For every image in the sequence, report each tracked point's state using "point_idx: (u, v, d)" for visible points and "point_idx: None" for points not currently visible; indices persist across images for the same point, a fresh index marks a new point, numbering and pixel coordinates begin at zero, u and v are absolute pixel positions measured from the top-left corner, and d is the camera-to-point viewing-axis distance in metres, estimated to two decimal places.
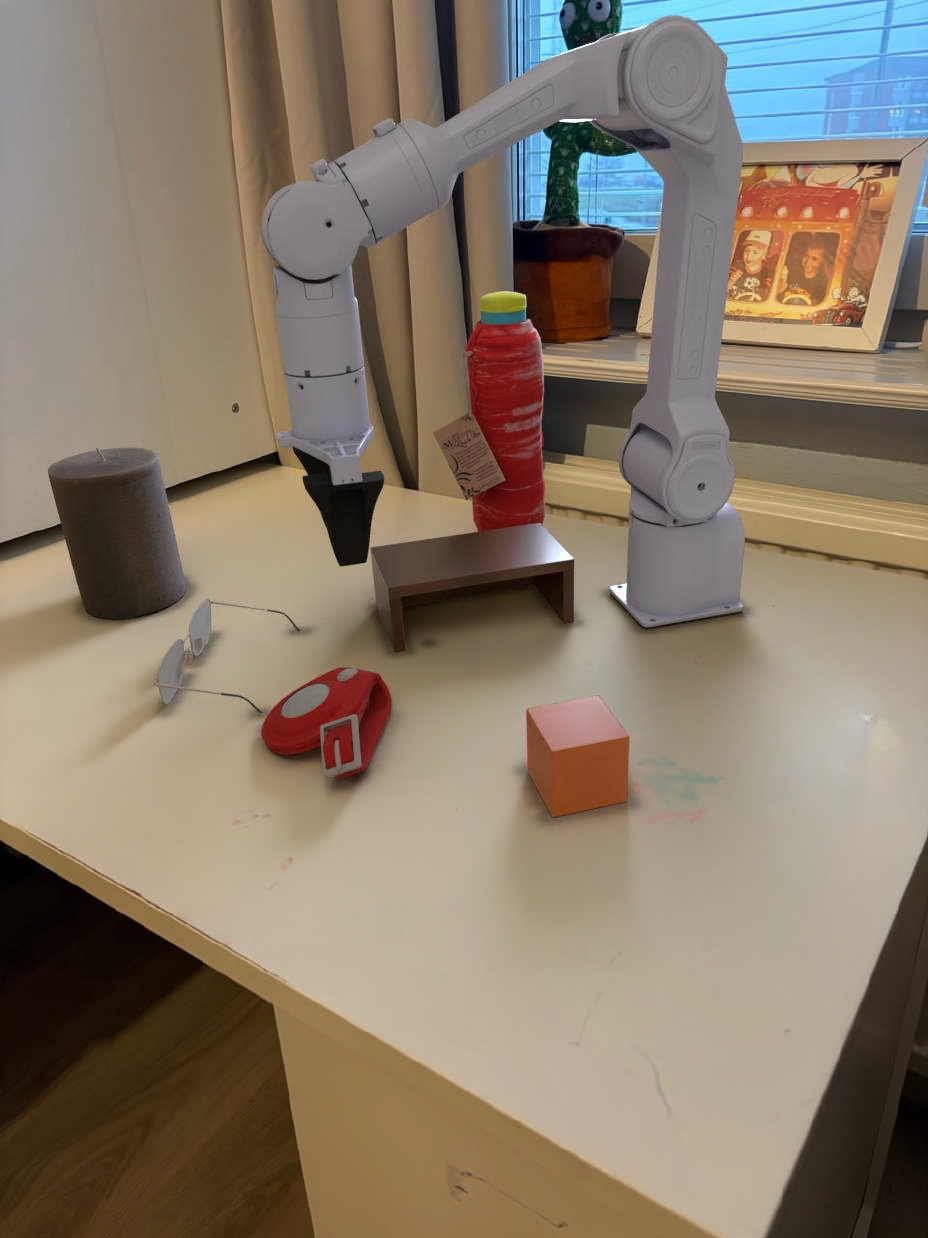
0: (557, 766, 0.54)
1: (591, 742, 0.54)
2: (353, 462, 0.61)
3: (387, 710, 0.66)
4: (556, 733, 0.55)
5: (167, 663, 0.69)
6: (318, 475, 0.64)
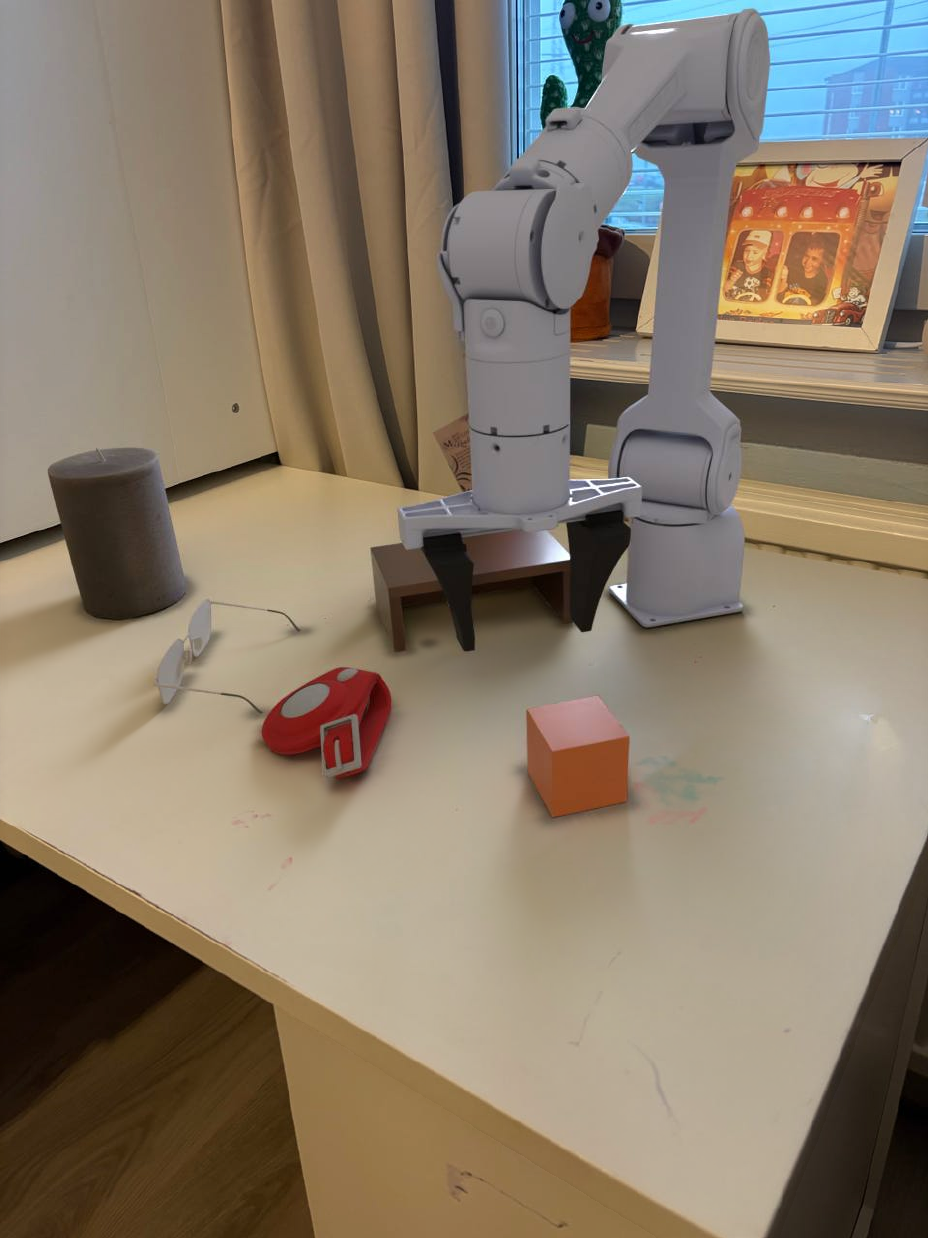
0: (557, 766, 0.54)
1: (591, 742, 0.54)
2: None
3: (387, 710, 0.66)
4: (556, 733, 0.55)
5: (166, 663, 0.69)
6: (596, 530, 0.53)
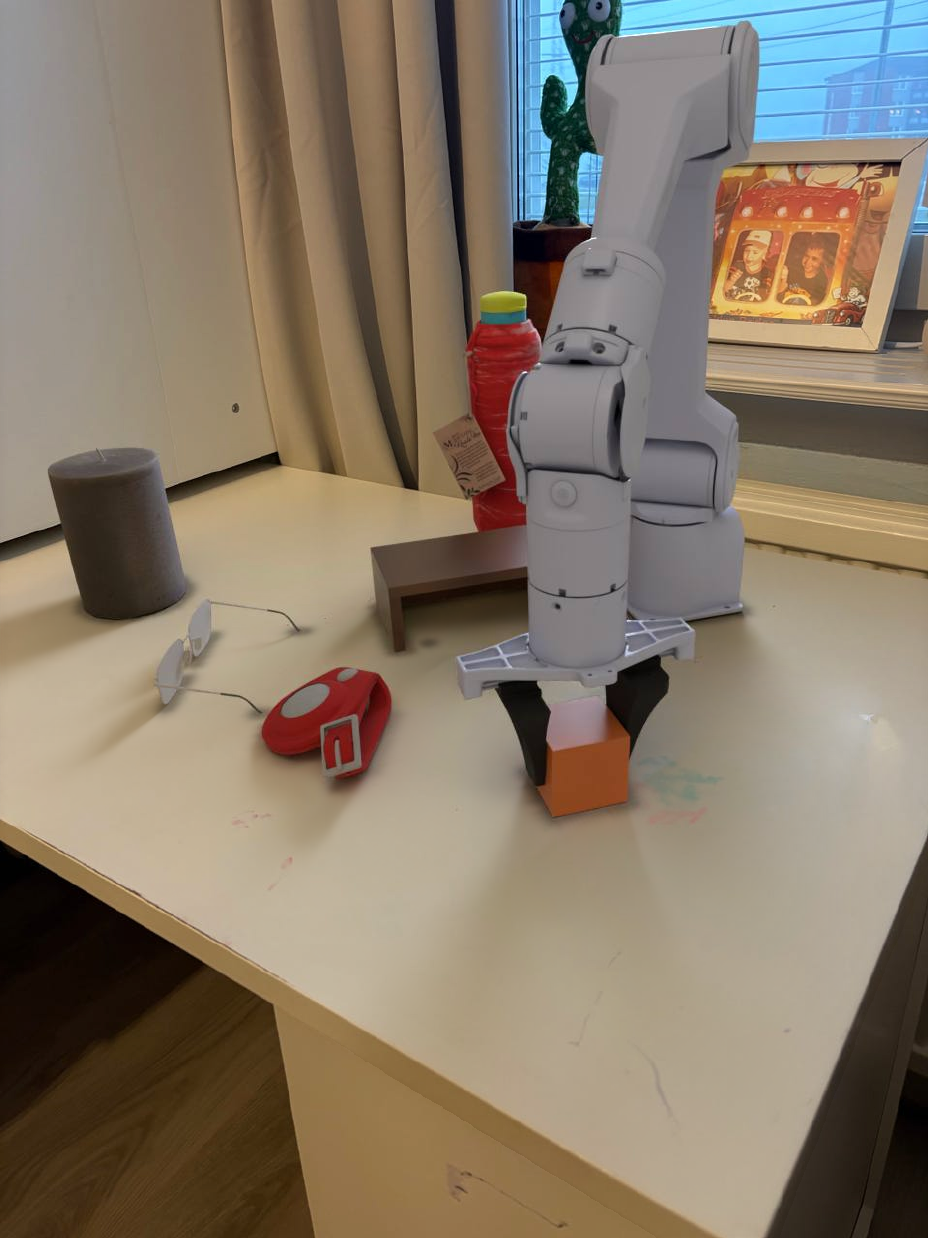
0: (558, 766, 0.54)
1: (591, 742, 0.54)
2: None
3: (387, 710, 0.66)
4: (557, 733, 0.55)
5: (166, 663, 0.69)
6: (635, 678, 0.54)
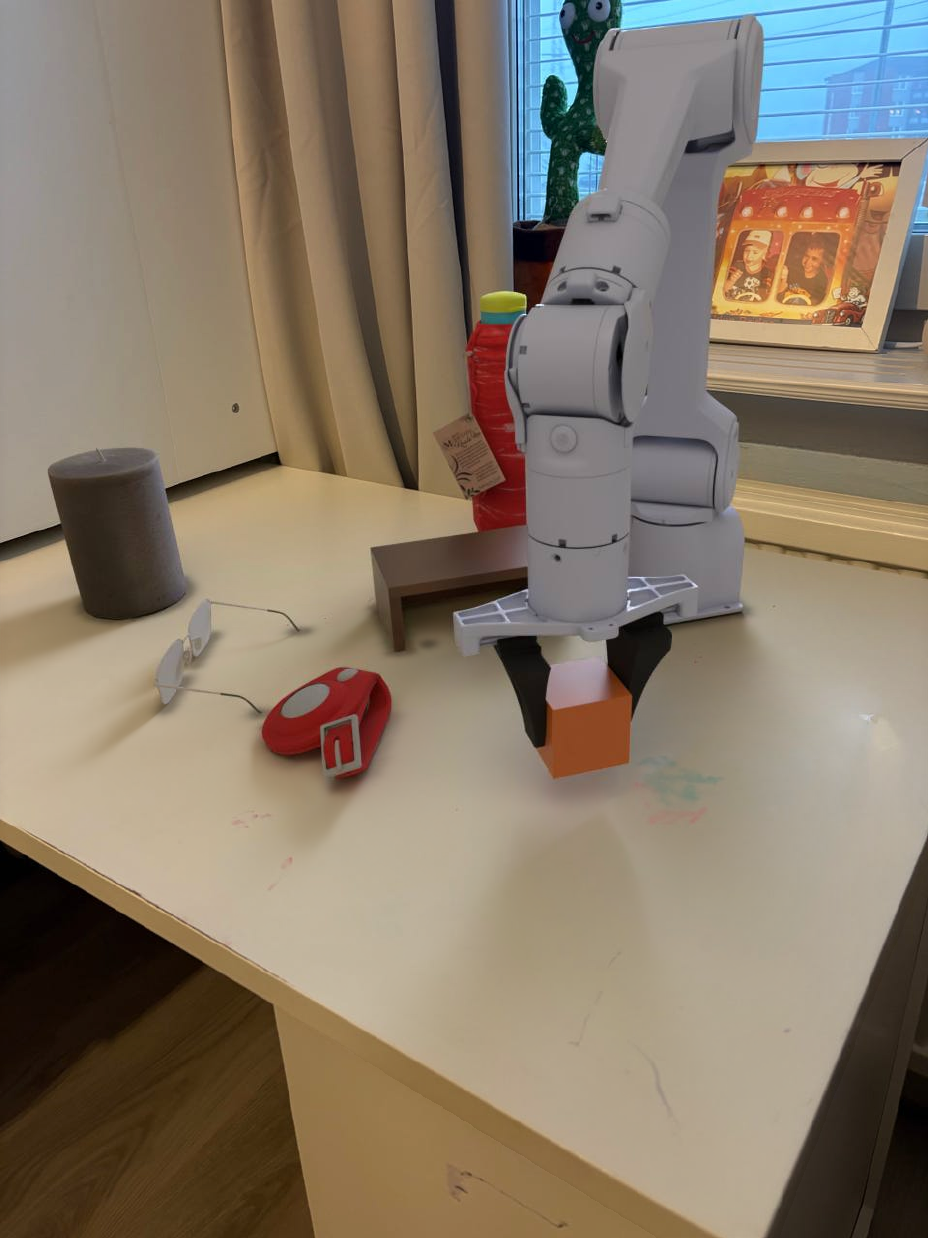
0: (558, 725, 0.53)
1: (592, 701, 0.53)
2: None
3: (387, 710, 0.66)
4: (557, 693, 0.54)
5: (166, 663, 0.69)
6: (637, 635, 0.53)
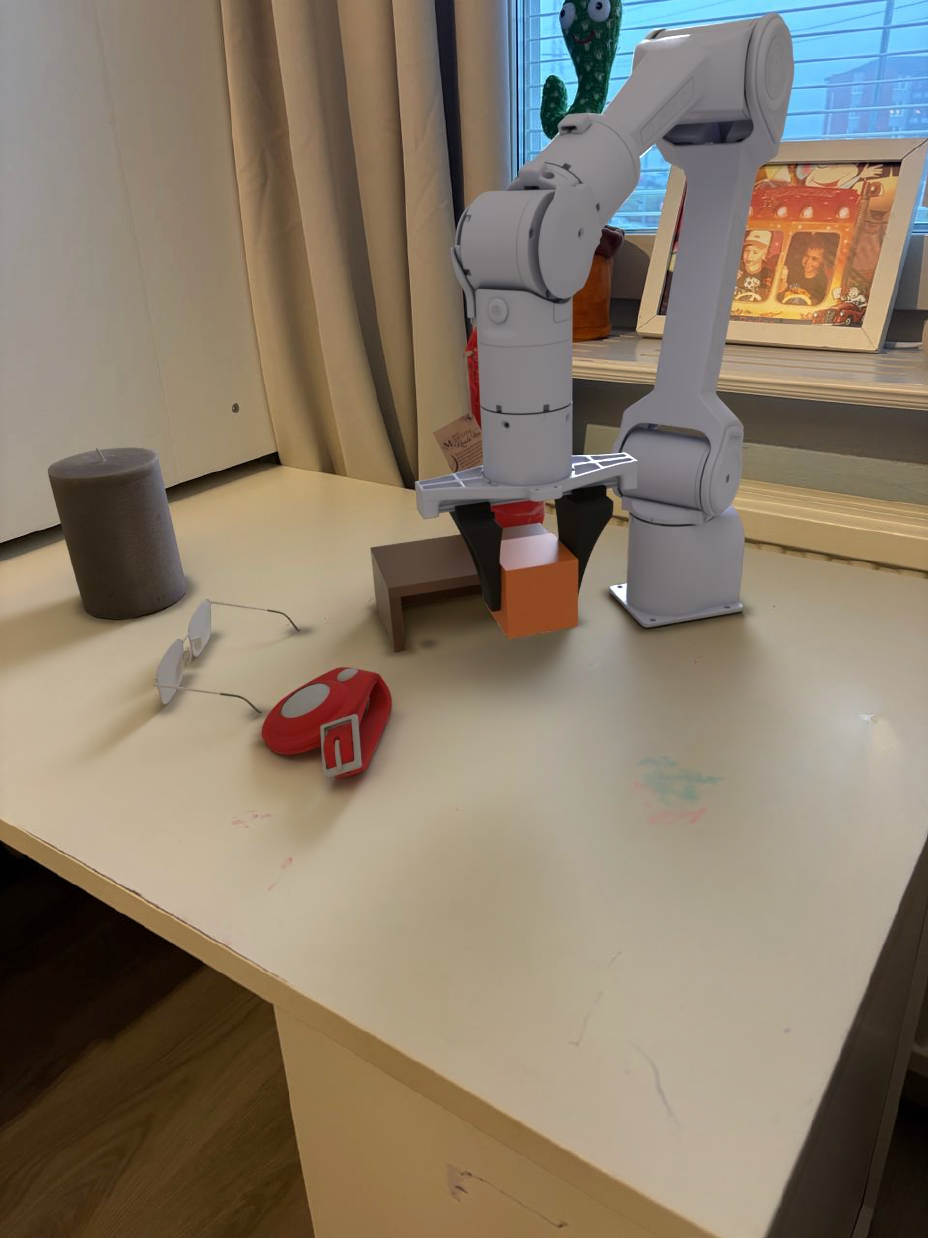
0: (511, 586, 0.59)
1: (542, 564, 0.59)
2: None
3: (387, 710, 0.66)
4: (511, 559, 0.60)
5: (166, 663, 0.69)
6: (581, 503, 0.58)
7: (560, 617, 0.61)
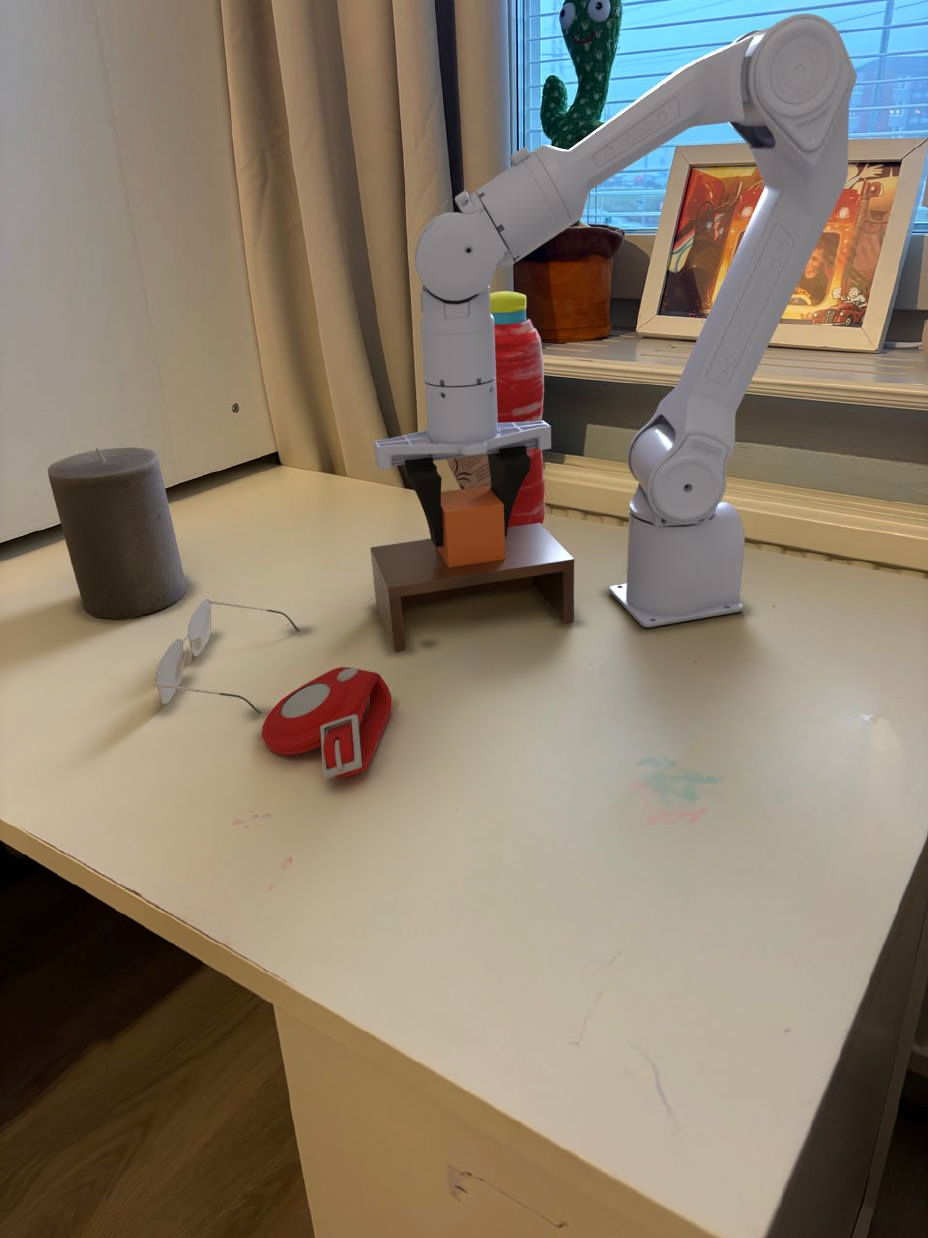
0: (449, 524, 0.74)
1: (474, 507, 0.74)
2: None
3: (387, 710, 0.66)
4: (450, 503, 0.75)
5: (166, 663, 0.69)
6: (505, 459, 0.74)
7: (490, 551, 0.76)
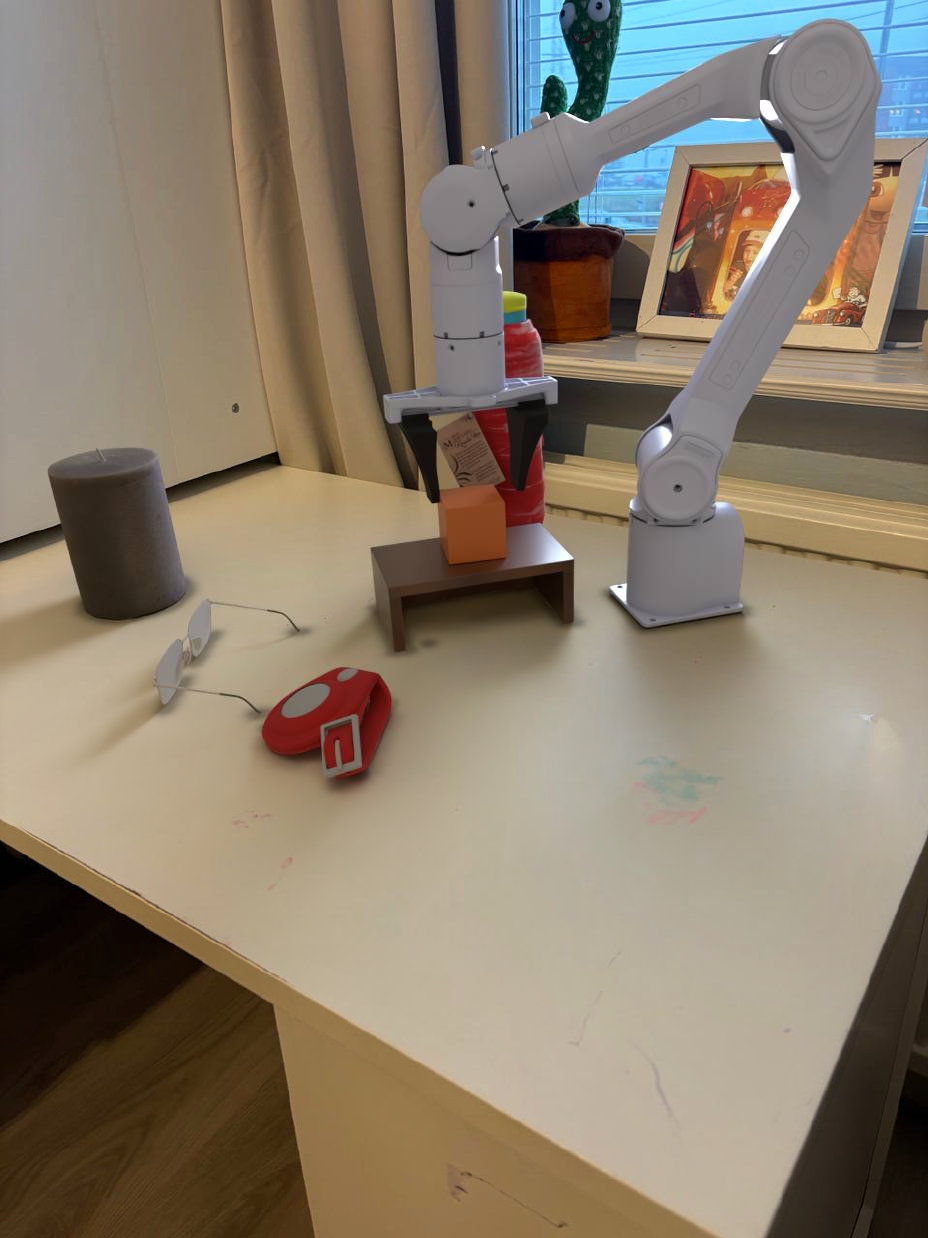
0: (450, 521, 0.75)
1: (475, 505, 0.74)
2: None
3: (387, 710, 0.66)
4: (452, 501, 0.76)
5: (165, 663, 0.69)
6: (525, 411, 0.75)
7: (491, 549, 0.76)
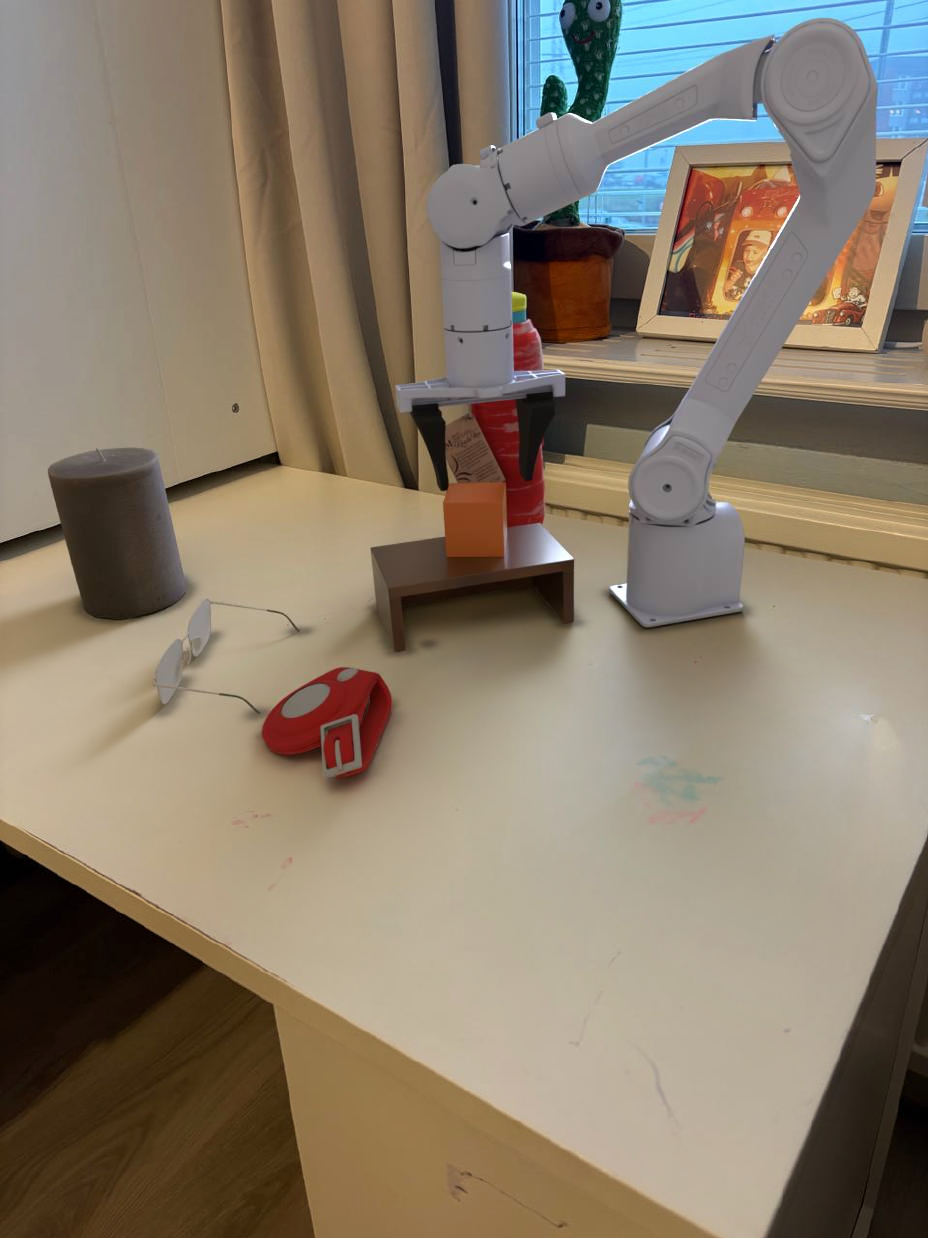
0: (447, 515, 0.76)
1: (473, 501, 0.75)
2: None
3: (387, 710, 0.66)
4: (455, 495, 0.77)
5: (165, 663, 0.70)
6: (532, 403, 0.77)
7: (489, 546, 0.77)
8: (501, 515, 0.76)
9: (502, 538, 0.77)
